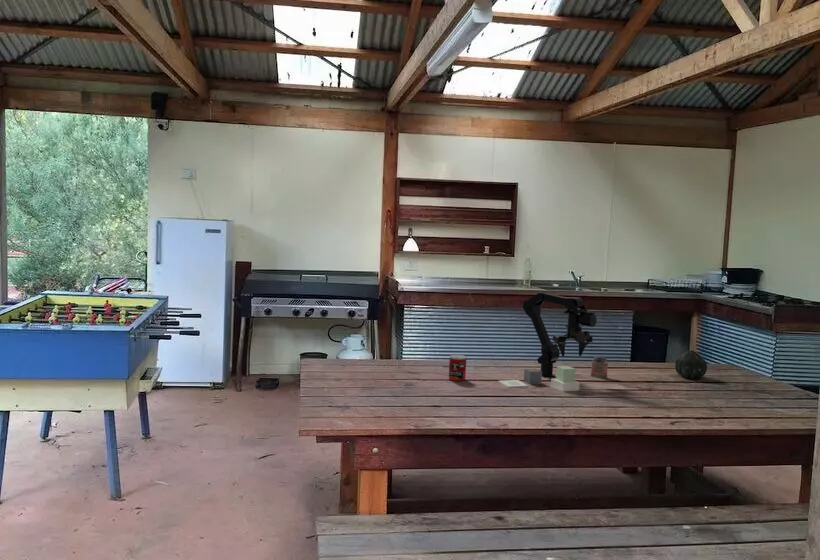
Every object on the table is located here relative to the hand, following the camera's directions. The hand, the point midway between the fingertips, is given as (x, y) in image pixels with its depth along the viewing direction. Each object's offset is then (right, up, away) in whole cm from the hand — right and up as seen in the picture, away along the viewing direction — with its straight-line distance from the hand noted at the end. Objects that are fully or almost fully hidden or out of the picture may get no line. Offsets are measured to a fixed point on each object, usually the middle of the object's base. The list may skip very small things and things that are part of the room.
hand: (571, 356), depth 305 cm
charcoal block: (-20, -12, -5) cm, 23 cm away
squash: (+65, -13, +21) cm, 70 cm away
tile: (-30, -12, -10) cm, 33 cm away
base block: (-6, -13, -13) cm, 20 cm away
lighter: (+17, -12, +13) cm, 24 cm away
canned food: (-55, -10, -6) cm, 56 cm away
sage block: (-6, -9, -13) cm, 17 cm away
